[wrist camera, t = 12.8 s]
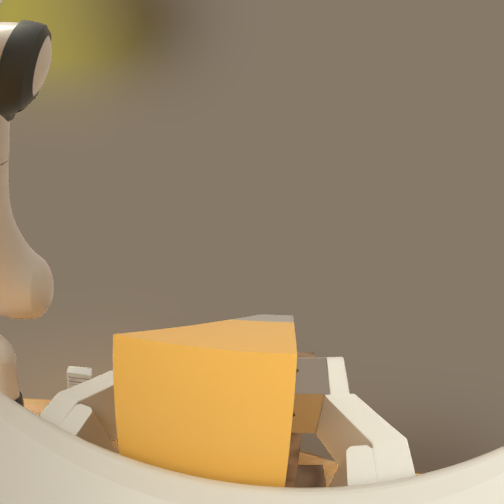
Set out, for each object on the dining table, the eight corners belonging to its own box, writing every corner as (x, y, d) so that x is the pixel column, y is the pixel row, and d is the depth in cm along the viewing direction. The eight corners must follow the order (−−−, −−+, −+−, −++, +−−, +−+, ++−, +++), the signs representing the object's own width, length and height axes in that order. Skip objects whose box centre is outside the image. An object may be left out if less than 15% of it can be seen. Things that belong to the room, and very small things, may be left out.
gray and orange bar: (123, 477, 4) (113, 334, 5) (259, 345, 29) (260, 314, 30) (281, 510, 4) (297, 353, 4) (291, 347, 29) (292, 315, 30)
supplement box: (71, 405, 60) (68, 365, 62) (95, 407, 64) (92, 367, 66) (69, 415, 54) (65, 371, 56) (95, 417, 57) (92, 374, 60)
